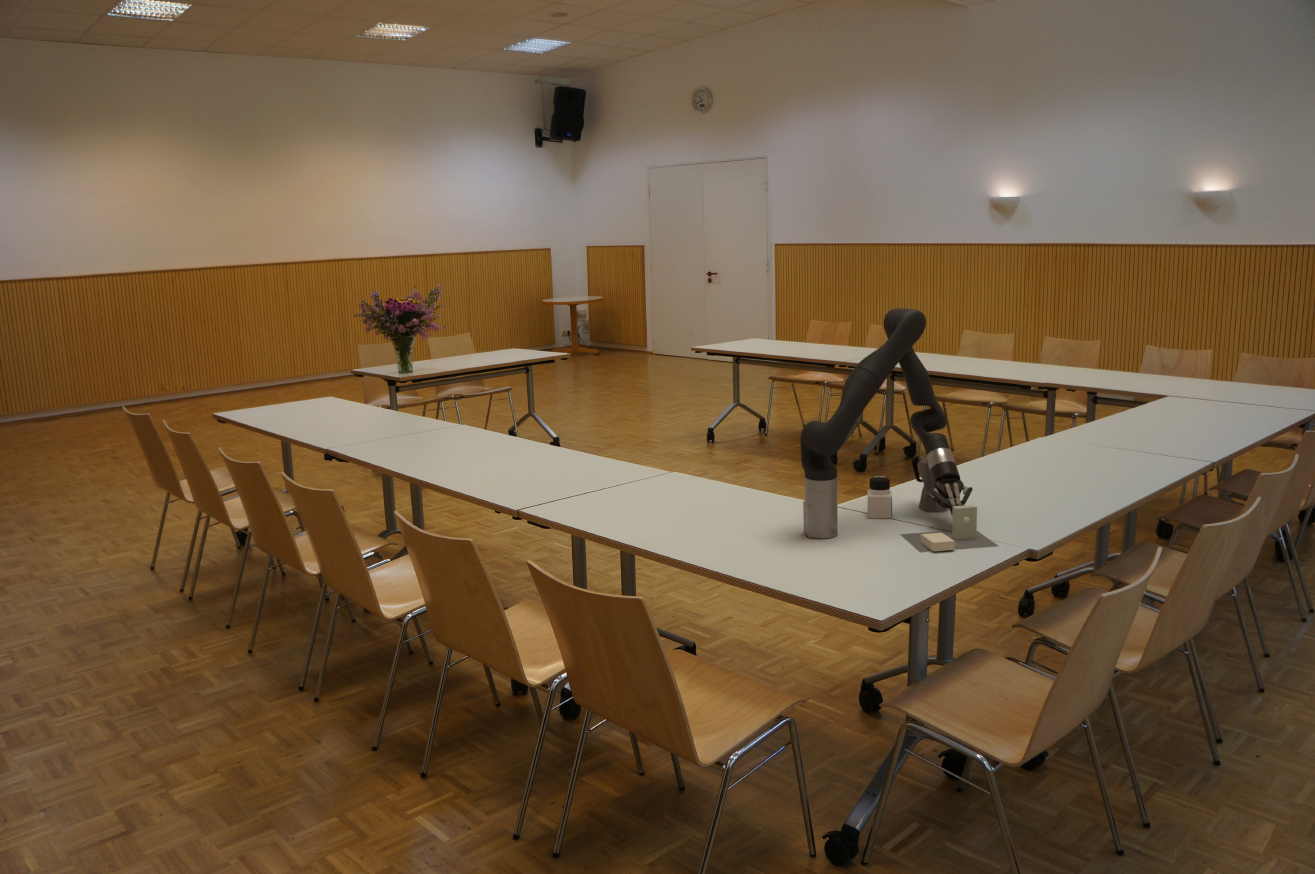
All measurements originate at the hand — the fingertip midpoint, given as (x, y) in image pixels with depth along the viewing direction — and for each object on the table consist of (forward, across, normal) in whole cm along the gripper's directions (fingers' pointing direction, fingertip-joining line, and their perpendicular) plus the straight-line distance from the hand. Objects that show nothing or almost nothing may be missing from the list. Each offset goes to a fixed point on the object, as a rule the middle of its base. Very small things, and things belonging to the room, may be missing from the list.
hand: (959, 519), depth 268 cm
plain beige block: (+6, -10, -1) cm, 12 cm away
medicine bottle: (-14, -15, +21) cm, 29 cm away
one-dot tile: (+6, 0, 0) cm, 6 cm away
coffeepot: (-16, +3, +24) cm, 29 cm away
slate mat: (+7, -5, 0) cm, 8 cm away
